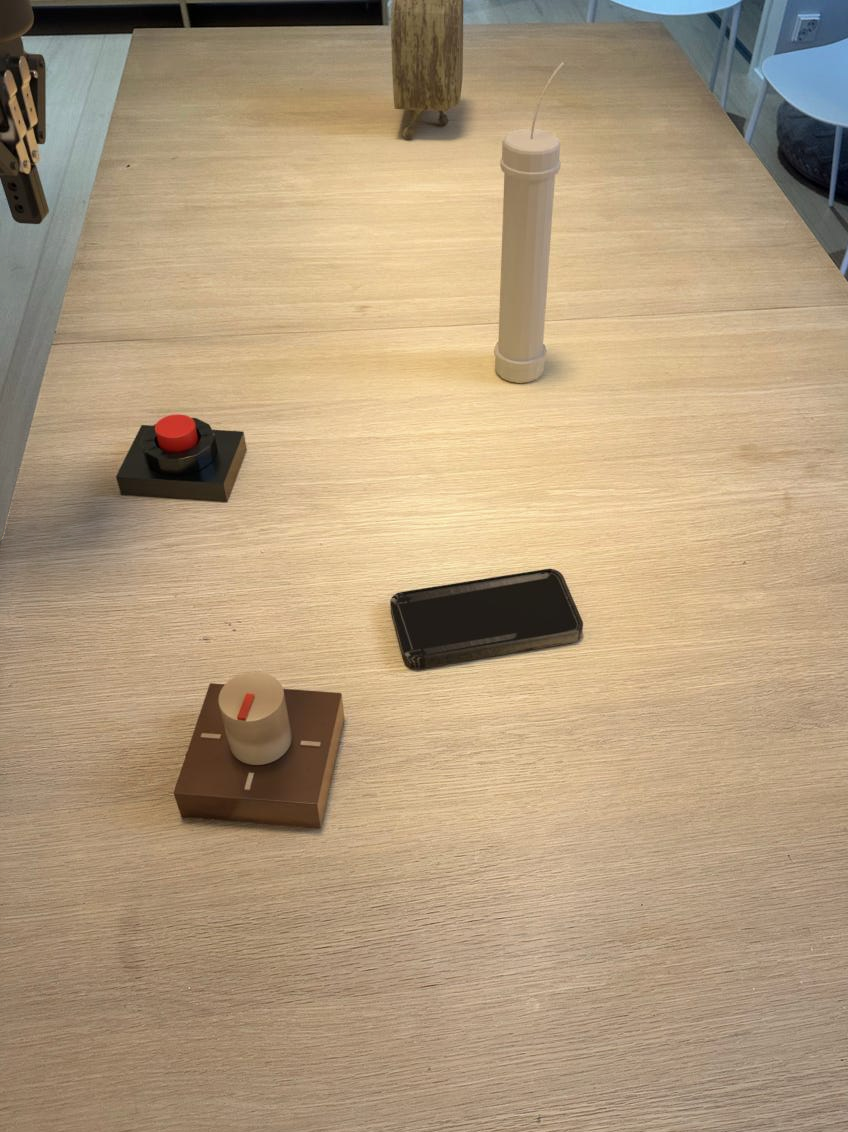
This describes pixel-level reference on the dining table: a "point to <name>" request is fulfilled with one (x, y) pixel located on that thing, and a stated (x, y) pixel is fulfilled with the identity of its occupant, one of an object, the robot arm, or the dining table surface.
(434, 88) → the tabletop clock
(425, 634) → the phone
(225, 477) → the button block
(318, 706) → the panel
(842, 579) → the dining table surface
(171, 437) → the button
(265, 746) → the dial
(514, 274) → the dynamite stick
